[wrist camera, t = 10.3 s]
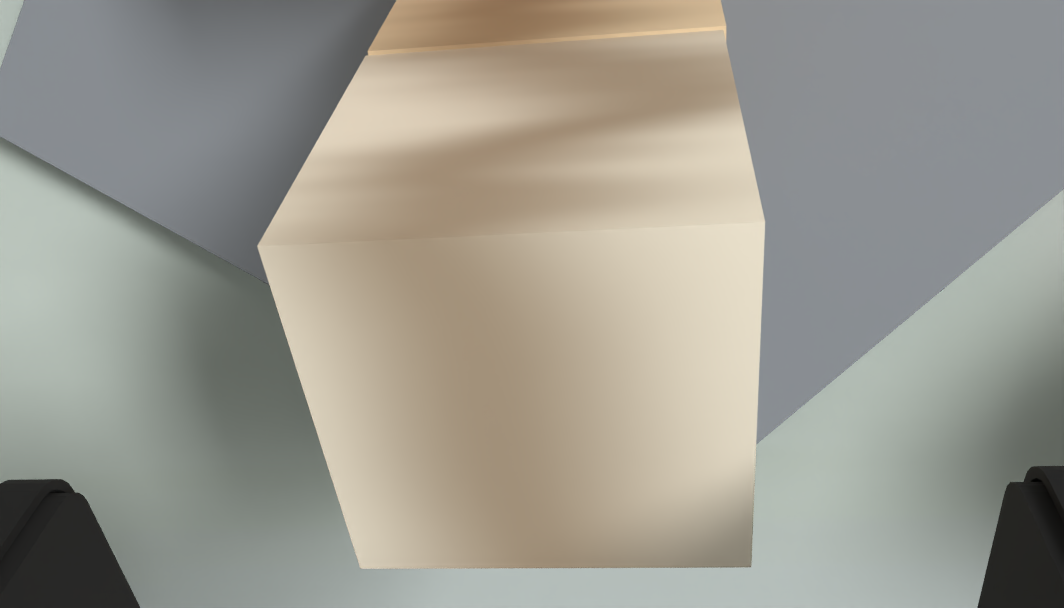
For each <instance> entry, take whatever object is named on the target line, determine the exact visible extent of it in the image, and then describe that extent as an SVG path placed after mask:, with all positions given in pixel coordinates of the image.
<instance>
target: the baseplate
mask: <svg viewBox="0 0 1064 608" xmlns="http://www.w3.org/2000/svg"><path fill="white" fill-rule="evenodd" d="M395 2H396V0H24V3H23V6H22V8H21V11H20V14H19V17H18V20H17V23H16V26H15V28H14V31H13V34H12V37H11V40H10V43H9V45H8V48H7V51H6V54H5V57H4V60H3V62H2V65H1V68H0V137H2V138H4V139H5V140H7V141H9V142H11V143H13V144H15V145H16V146H18V147H20V148H22V149H24V150H25V151H27V152H29V153H31V154H33V155H35V156H36V157H38V158H40V159H42V160H44V161H45V162H47V163H49V164H51V165H53V166H54V167H56V168H58V169H60V170H62V171H64V172H65V173H67V174H69V175H71V176H73V177H74V178H76V179H78V180H80V181H82V182H83V183H85V184H87V185H89V186H91V187H93V188H94V189H96V190H98V191H100V192H102V193H103V194H105V195H107V196H109V197H111V198H112V199H114V200H116V201H118V202H120V203H122V204H123V205H125V206H127V207H129V208H131V209H132V210H134V211H136V212H138V213H140V214H142V215H143V216H145V217H147V218H149V219H151V220H152V221H154V222H156V223H158V224H160V225H161V226H163V227H165V228H167V229H169V230H171V231H172V232H174V233H176V234H178V235H180V236H181V237H183V238H185V239H187V240H189V241H190V242H192V243H194V244H196V245H198V246H200V247H201V248H203V249H205V250H207V251H209V252H210V253H212V254H214V255H216V256H218V257H219V258H221V259H223V260H225V261H227V262H229V263H230V264H232V265H234V266H236V267H238V268H239V269H241V270H243V271H245V272H247V273H249V274H250V275H252V276H254V277H256V278H258V279H259V280H261V281H263V282H265V283H267V284H268V285H269V282H268V278H267V275H266V272H265V269H264V266H263V263H262V260H261V257H260V254H259V250H258V247H257V246H258V244H259V242H260V240H261V239H262V237H263V235H264V233H265V232H266V230H267V228H268V226H269V225H270V223H271V221H272V219H273V218H274V216H275V214H276V212H277V211H278V209H279V207H280V205H281V204H282V202H283V200H284V198H285V196H286V195H287V193H288V191H289V189H290V188H291V186H292V184H293V182H294V181H295V179H296V177H297V175H298V174H299V172H300V170H301V168H302V167H303V165H304V163H305V161H306V160H307V158H308V156H309V154H310V152H311V151H312V149H313V147H314V145H315V144H316V142H317V140H318V138H319V137H320V135H321V133H322V131H323V130H324V128H325V126H326V124H327V123H328V121H329V119H330V117H331V116H332V114H333V112H334V110H335V109H336V107H337V105H338V103H339V101H340V100H341V98H342V96H343V94H344V93H345V91H346V89H347V87H348V86H349V84H350V82H351V80H352V79H353V77H354V75H355V73H356V72H357V70H358V68H359V66H360V65H361V63H362V61H363V59H364V57H365V56H368V52H367V51H368V49H369V48H370V46H371V44H372V42H373V41H374V39H375V37H376V35H377V34H378V32H379V30H380V28H381V27H382V25H383V23H384V21H385V20H386V18H387V16H388V14H389V12H390V11H391V9H392V7H393V5H394V4H395ZM721 4H722V9H723V13H724V17H725V22H726V44H727V49H728V54H729V58H730V63H731V67H732V72H733V76H734V81H735V86H736V90H737V95H738V99H739V104H740V109H741V113H742V118H743V122H744V127H745V132H746V136H747V141H748V145H749V150H750V154H751V159H752V164H753V168H754V173H755V177H756V182H757V187H758V191H759V196H760V200H761V205H762V210H763V214H764V219H765V240H764V264H763V289H762V314H761V338H760V363H759V388H758V412H757V437H756V444H757V443H758V442H760V441H761V440H762V439H763V438H764V437H766V436H767V435H768V434H769V433H771V432H772V431H773V430H774V429H775V428H777V427H778V426H779V425H780V424H781V423H783V422H784V421H785V420H786V419H787V418H789V417H790V416H791V415H792V414H793V413H795V412H796V411H797V410H798V409H799V408H801V407H802V406H803V405H804V404H805V403H807V402H808V401H809V400H810V399H811V398H813V397H814V396H815V395H816V394H817V393H819V392H820V391H821V390H822V389H823V388H825V387H826V386H827V385H828V384H829V383H831V382H832V381H833V380H834V379H835V378H837V377H838V376H839V375H840V374H842V373H843V372H844V371H845V370H846V369H848V368H849V367H850V366H851V365H852V364H854V363H855V362H856V361H857V360H858V359H860V358H861V357H862V356H863V355H864V354H866V353H867V352H868V351H869V350H870V349H872V348H873V347H874V346H875V345H876V344H878V343H879V342H880V341H881V340H882V339H884V338H885V337H886V336H887V335H888V334H890V333H891V332H892V331H893V330H894V329H896V328H897V327H898V326H899V325H900V324H902V323H903V322H904V321H905V320H906V319H908V318H909V317H910V316H911V315H913V314H914V313H915V312H916V311H917V310H919V309H920V308H921V307H922V306H923V305H925V304H926V303H927V302H928V301H929V300H931V299H932V298H933V297H934V296H935V295H937V294H938V293H939V292H940V291H941V290H943V289H944V288H945V287H946V286H947V285H949V284H950V283H951V282H952V281H953V280H955V279H956V278H957V277H958V276H959V275H961V274H962V273H963V272H964V271H965V270H967V269H968V268H969V267H970V266H971V265H973V264H974V263H975V262H976V261H977V260H979V259H980V258H981V257H982V256H984V255H985V254H986V253H987V252H988V251H990V250H991V249H992V248H993V247H994V246H996V245H997V244H998V243H999V242H1000V241H1002V240H1003V239H1004V238H1005V237H1006V236H1008V235H1009V234H1010V233H1011V232H1012V231H1014V230H1015V229H1016V228H1017V227H1018V226H1020V225H1021V224H1022V223H1023V222H1024V221H1026V220H1027V219H1028V218H1029V217H1030V216H1032V215H1033V214H1034V213H1035V212H1036V211H1038V210H1039V209H1040V208H1041V207H1042V206H1044V205H1045V204H1046V203H1047V202H1048V201H1050V200H1051V199H1052V198H1053V197H1055V196H1056V195H1057V194H1058V193H1059V192H1061V191H1062V190H1063V189H1064V0H721Z"/></svg>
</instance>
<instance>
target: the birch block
mask: <svg viewBox="0 0 1064 608" xmlns="http://www.w3.org/2000/svg"><path fill="white" fill-rule="evenodd" d="M764 240H765V219H764V214H763V210H762V205H761V200H760V196H759V191H758V187H757V182H756V177H755V173H754V168H753V164H752V159H751V154H750V150H749V145H748V141H747V136H746V132H745V127H744V122H743V118H742V113H741V109H740V104H739V99H738V95H737V90H736V86H735V81H734V76H733V72H732V67H731V63H730V58H729V54H728V49H727V44H726V40H725V35H724V31H723V30H712V31H698V32H685V33H671V34H657V35H643V36H630V37H616V38H602V39H588V40H575V41H561V42H547V43H533V44H519V45H506V46H492V47H478V48H464V49H451V50H437V51H423V52H409V53H396V54H382V55H368V56H365V57H364V59H363V61H362V63H361V65H360V66H359V68H358V70H357V72H356V73H355V75H354V77H353V79H352V80H351V82H350V84H349V86H348V87H347V89H346V91H345V93H344V94H343V96H342V98H341V100H340V101H339V103H338V105H337V107H336V109H335V110H334V112H333V114H332V116H331V117H330V119H329V121H328V123H327V124H326V126H325V128H324V130H323V131H322V133H321V135H320V137H319V138H318V140H317V142H316V144H315V145H314V147H313V149H312V151H311V152H310V154H309V156H308V158H307V160H306V161H305V163H304V165H303V167H302V168H301V170H300V172H299V174H298V175H297V177H296V179H295V181H294V182H293V184H292V186H291V188H290V189H289V191H288V193H287V195H286V196H285V198H284V200H283V202H282V204H281V205H280V207H279V209H278V211H277V212H276V214H275V216H274V218H273V219H272V221H271V223H270V225H269V226H268V228H267V230H266V232H265V233H264V235H263V237H262V239H261V240H260V242H259V244H258V246H257V247H258V250H259V254H260V257H261V260H262V263H263V266H264V269H265V272H266V275H267V278H268V282H269V285H270V288H271V291H272V294H273V297H274V300H275V303H276V307H277V310H278V313H279V316H280V319H281V322H282V325H283V328H284V332H285V335H286V338H287V341H288V344H289V347H290V350H291V353H292V356H293V360H294V363H295V366H296V369H297V372H298V375H299V378H300V381H301V385H302V388H303V391H304V394H305V397H306V400H307V403H308V406H309V410H310V413H311V416H312V419H313V422H314V425H315V428H316V431H317V434H318V438H319V441H320V444H321V447H322V450H323V453H324V456H325V459H326V463H327V466H328V469H329V472H330V475H331V478H332V481H333V484H334V488H335V491H336V494H337V497H338V500H339V503H340V506H341V509H342V512H343V516H344V519H345V522H346V525H347V528H348V531H349V534H350V537H351V541H352V544H353V547H354V550H355V553H356V556H357V559H358V562H359V566H360V569H418V568H689V567H751V560H752V535H753V511H754V486H755V462H756V437H757V412H758V388H759V363H760V338H761V314H762V289H763V264H764Z"/></svg>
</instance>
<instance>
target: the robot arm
mask: <svg viewBox="0 0 1064 608" xmlns="http://www.w3.org/2000/svg"><path fill="white" fill-rule="evenodd" d="M0 608H140V606H139V604H138V602H137V600H136V598H135V596H134V594H133V592H132V590H131V588H130V586H129V584H128V582H127V580H126V578H125V576H124V574H123V572H122V570H121V568H120V566H119V564H118V562H117V560H116V558H115V556H114V554H113V552H112V550H111V548H110V546H109V544H108V542H107V540H106V538H105V536H104V534H103V532H102V530H101V528H100V526H99V524H98V522H97V520H96V518H95V516H94V514H93V512H92V510H91V508H90V506H89V504H88V502H87V500H86V499H85V497H84V496H83V495H81V494H80V493H75V492H74V490H73V489H72V487H71V486H70V485H69V483H67V482H65V481H64V480H61V479H47V480H7V481H5V482H3V483H1V484H0ZM978 608H1064V466H1036V467H1031V468H1030V469H1029V470H1028V471H1027V474H1026V477H1025V479H1024V482H1010V483H1009V484H1008V485H1007V488H1006V491H1005V494H1004V498H1003V503H1002V507H1001V511H1000V515H999V519H998V524H997V528H996V532H995V536H994V540H993V545H992V549H991V553H990V557H989V561H988V566H987V570H986V574H985V578H984V583H983V587H982V591H981V595H980V599H979V604H978Z"/></svg>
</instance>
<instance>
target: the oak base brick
mask: <svg viewBox="0 0 1064 608" xmlns="http://www.w3.org/2000/svg"><path fill="white" fill-rule="evenodd" d="M712 30H723V31H724V35H725V40H726V22H725V17H724V13H723V9H722V4H721V0H396V2H395V4H394V5H393V7H392V9H391V11H390V12H389V14H388V16H387V18H386V20H385V21H384V23H383V25H382V27H381V28H380V30H379V32H378V34H377V35H376V37H375V39H374V41H373V42H372V44H371V46H370V48H369V49H368V51H367V52H368V55H382V54H396V53H409V52H423V51H437V50H451V49H464V48H478V47H492V46H506V45H519V44H533V43H547V42H561V41H575V40H588V39H602V38H616V37H630V36H643V35H657V34H671V33H685V32H698V31H712Z"/></svg>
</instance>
